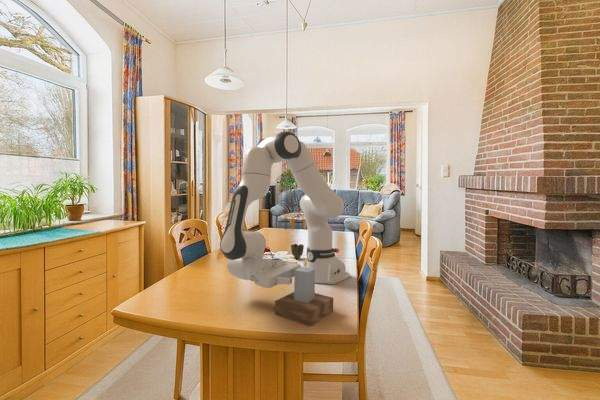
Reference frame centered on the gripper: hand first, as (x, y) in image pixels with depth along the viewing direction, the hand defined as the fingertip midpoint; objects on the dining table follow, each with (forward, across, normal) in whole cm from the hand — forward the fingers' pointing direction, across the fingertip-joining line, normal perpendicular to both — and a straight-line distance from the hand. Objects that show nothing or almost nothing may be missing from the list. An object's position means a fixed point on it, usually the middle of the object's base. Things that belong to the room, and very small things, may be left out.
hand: (298, 277), depth 104 cm
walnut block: (+3, 0, +12) cm, 12 cm away
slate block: (+2, 0, +7) cm, 7 cm away
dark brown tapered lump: (-38, +62, +12) cm, 73 cm away
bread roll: (-24, +54, +12) cm, 60 cm away
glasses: (-58, +52, +12) cm, 79 cm away
